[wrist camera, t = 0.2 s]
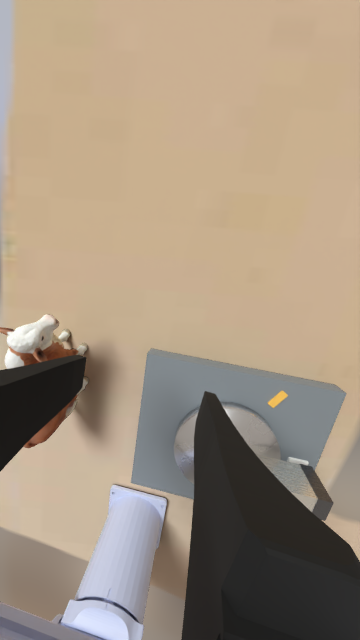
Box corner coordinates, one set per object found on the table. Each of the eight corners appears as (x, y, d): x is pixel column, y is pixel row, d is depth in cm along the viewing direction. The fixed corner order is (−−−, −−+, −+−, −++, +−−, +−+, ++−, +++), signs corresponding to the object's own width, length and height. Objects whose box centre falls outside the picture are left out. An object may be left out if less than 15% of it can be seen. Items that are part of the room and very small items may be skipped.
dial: (287, 501, 21) (308, 555, 17) (169, 471, 22) (161, 515, 18) (319, 420, 18) (352, 461, 14) (183, 391, 20) (178, 421, 15)
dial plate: (286, 509, 23) (292, 527, 21) (135, 471, 25) (130, 484, 23) (335, 384, 19) (348, 394, 17) (151, 348, 21) (146, 354, 19)
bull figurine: (100, 308, 20) (36, 324, 13) (88, 408, 24) (30, 472, 16) (64, 299, 21) (-21, 309, 13) (56, 399, 24) (-16, 457, 16)
